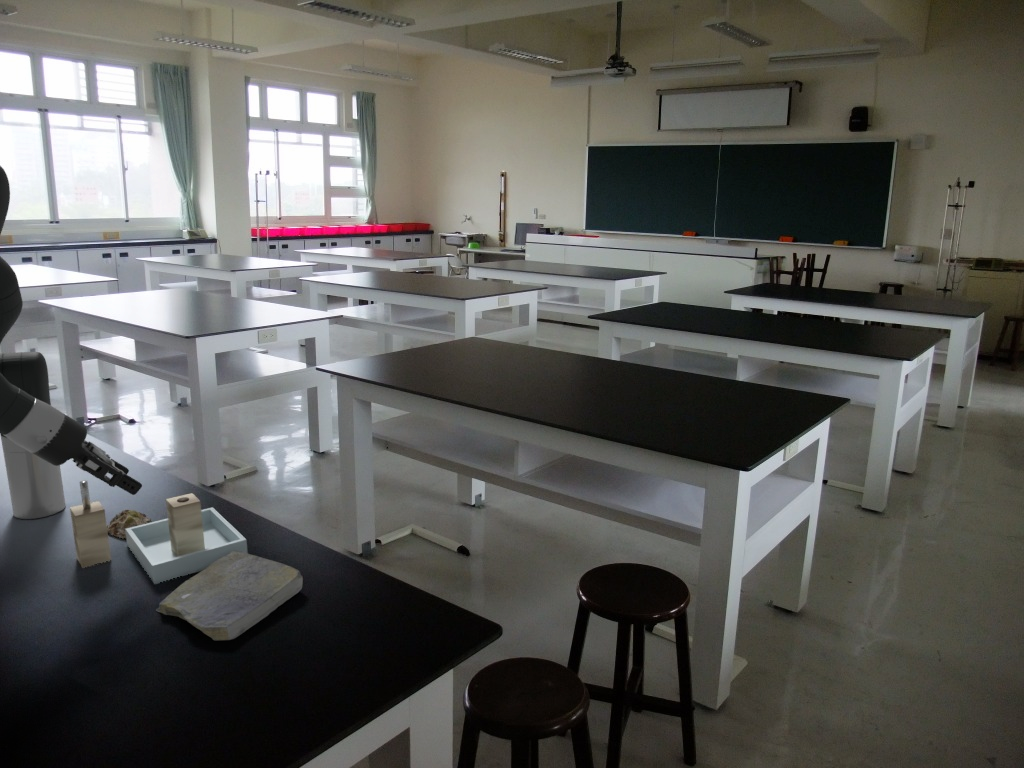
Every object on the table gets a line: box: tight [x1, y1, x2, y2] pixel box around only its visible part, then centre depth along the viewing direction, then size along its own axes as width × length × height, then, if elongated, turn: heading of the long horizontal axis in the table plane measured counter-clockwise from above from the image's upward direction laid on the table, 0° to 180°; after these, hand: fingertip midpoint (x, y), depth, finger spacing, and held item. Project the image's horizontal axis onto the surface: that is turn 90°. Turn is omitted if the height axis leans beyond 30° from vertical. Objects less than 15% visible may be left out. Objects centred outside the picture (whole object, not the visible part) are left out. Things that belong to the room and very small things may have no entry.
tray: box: [125, 507, 248, 585], centre depth 139 cm, size 18×16×4 cm
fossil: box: [155, 551, 304, 641], centre depth 123 cm, size 20×5×17 cm
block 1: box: [69, 480, 112, 569], centre depth 134 cm, size 5×5×15 cm
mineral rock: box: [107, 509, 153, 540], centre depth 148 cm, size 11×4×8 cm
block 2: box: [165, 492, 205, 557], centre depth 137 cm, size 5×5×10 cm
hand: (131, 482), depth 130 cm, fingers open, 8 cm apart
